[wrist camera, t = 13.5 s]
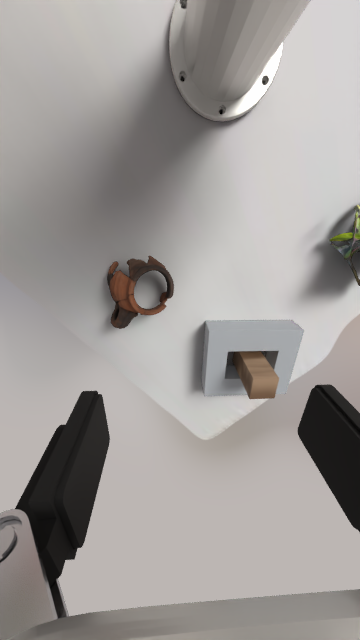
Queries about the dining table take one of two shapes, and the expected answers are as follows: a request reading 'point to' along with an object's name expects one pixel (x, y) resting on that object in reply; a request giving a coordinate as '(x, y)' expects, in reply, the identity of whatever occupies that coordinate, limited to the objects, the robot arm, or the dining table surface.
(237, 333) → the well block
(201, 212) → the dining table surface
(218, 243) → the dining table surface
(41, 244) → the dining table surface
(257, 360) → the wood grain block
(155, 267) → the dark brown looped piece
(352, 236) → the passion flower
